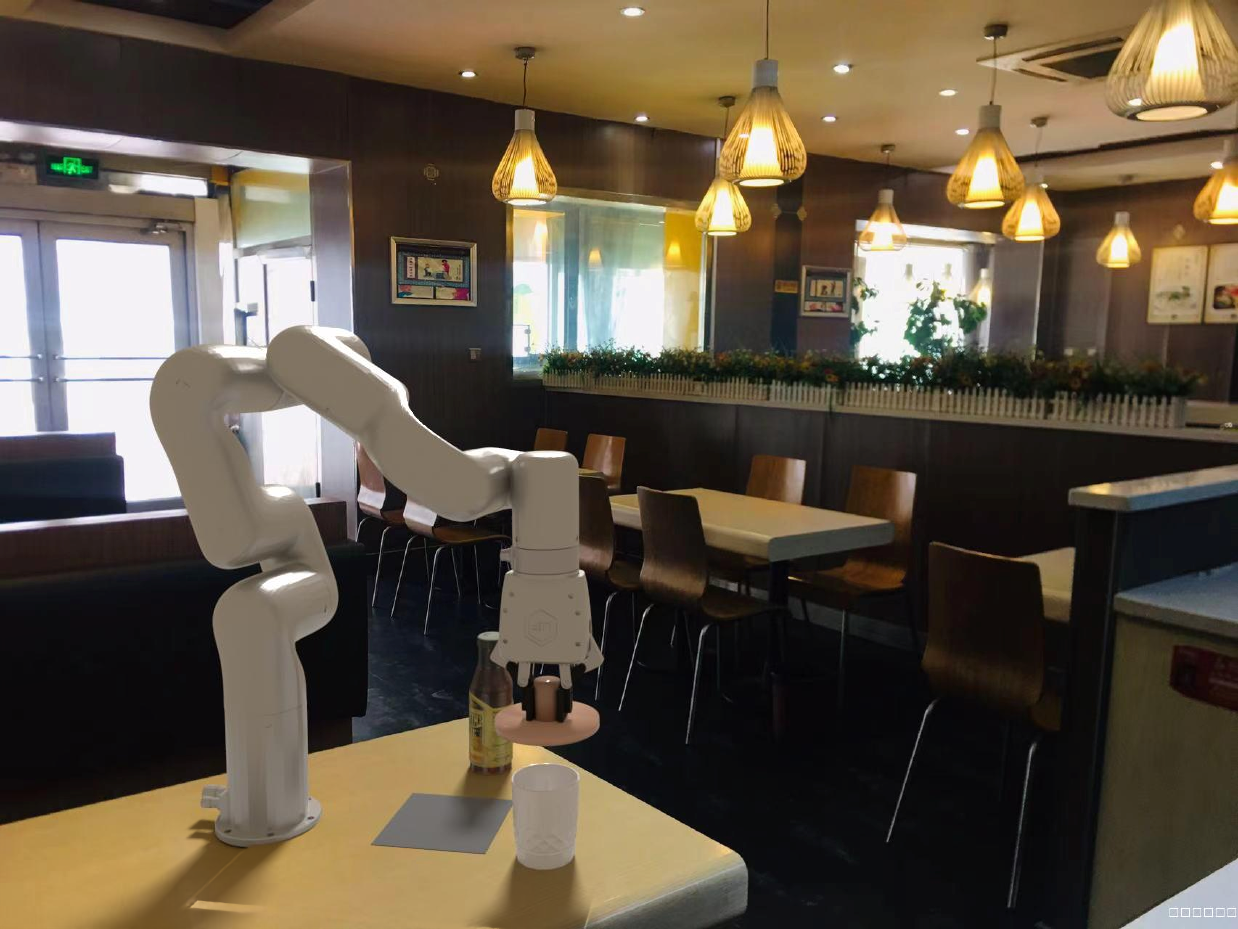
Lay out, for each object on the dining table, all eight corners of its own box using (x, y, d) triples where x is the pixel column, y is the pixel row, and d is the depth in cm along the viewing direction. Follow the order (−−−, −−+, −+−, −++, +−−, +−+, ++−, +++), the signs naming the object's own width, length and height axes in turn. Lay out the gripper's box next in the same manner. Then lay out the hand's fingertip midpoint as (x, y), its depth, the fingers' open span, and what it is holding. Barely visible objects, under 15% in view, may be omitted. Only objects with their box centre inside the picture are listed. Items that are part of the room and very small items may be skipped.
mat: (370, 849, 112) (370, 844, 112) (412, 797, 126) (412, 792, 126) (485, 858, 110) (485, 853, 110) (514, 804, 124) (514, 800, 124)
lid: (482, 743, 103) (481, 695, 103) (509, 705, 115) (508, 662, 115) (590, 748, 102) (590, 700, 101) (606, 709, 114) (606, 666, 113)
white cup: (569, 880, 105) (569, 795, 104) (502, 872, 107) (502, 788, 106) (586, 846, 113) (586, 766, 112) (523, 839, 115) (523, 760, 114)
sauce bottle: (466, 763, 137) (465, 629, 135) (508, 758, 139) (508, 626, 137) (473, 782, 130) (471, 642, 129) (517, 776, 132) (517, 638, 130)
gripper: (466, 565, 104) (468, 726, 106) (612, 569, 102) (612, 733, 104) (485, 552, 111) (487, 703, 113) (621, 556, 109) (622, 709, 111)
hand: (547, 716), depth 108 cm, fingers closed on lid, 3 cm apart
